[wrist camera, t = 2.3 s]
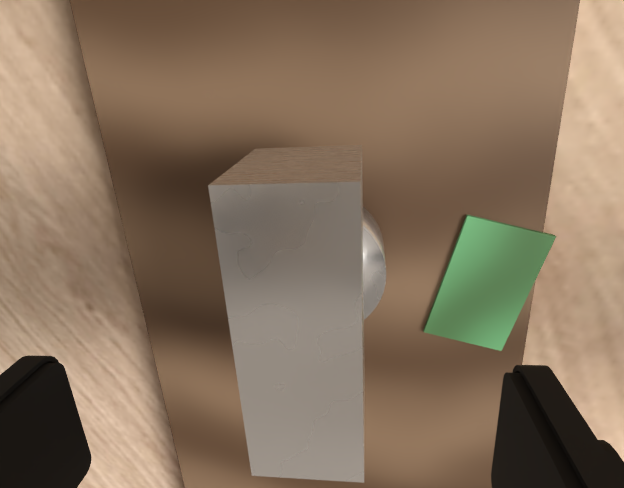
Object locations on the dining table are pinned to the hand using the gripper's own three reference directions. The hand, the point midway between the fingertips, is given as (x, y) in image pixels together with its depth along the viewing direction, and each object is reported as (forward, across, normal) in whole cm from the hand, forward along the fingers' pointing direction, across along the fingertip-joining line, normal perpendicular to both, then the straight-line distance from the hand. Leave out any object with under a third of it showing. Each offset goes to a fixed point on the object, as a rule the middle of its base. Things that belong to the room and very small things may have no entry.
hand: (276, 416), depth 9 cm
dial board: (+9, 0, +3) cm, 9 cm away
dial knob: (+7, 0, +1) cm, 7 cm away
